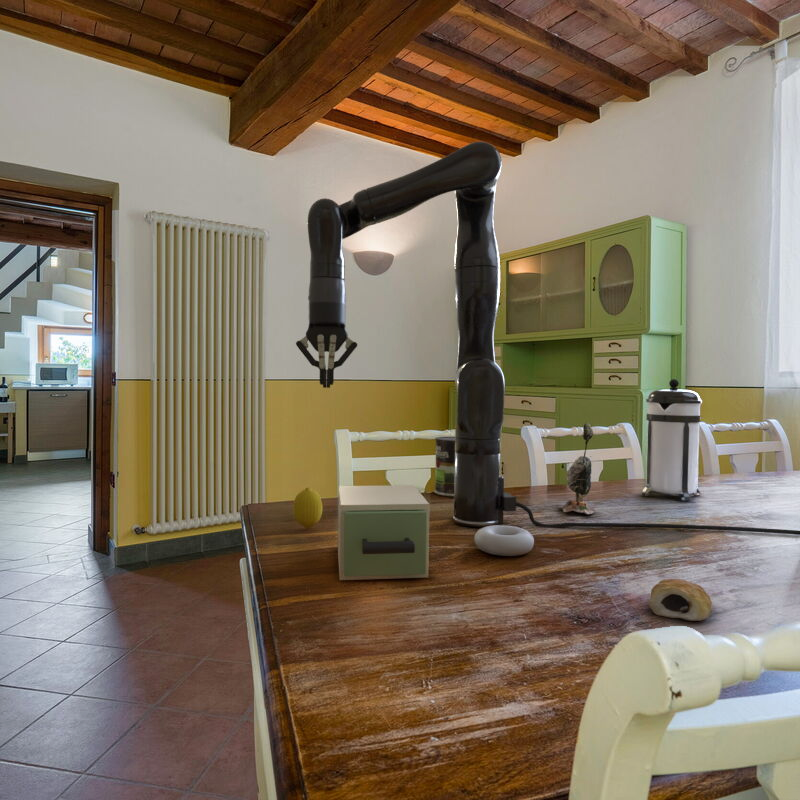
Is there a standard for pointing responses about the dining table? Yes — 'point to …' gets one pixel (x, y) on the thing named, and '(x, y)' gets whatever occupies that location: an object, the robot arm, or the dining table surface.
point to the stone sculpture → (580, 479)
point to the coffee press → (673, 442)
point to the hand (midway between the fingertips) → (326, 387)
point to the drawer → (385, 542)
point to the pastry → (680, 600)
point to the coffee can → (445, 466)
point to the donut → (504, 540)
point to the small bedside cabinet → (377, 501)
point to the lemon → (307, 508)
